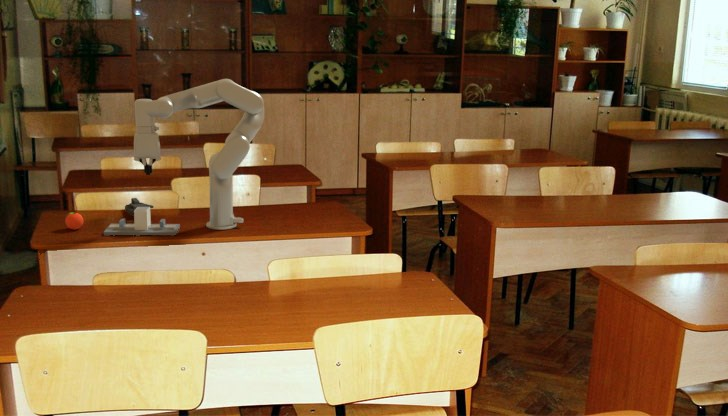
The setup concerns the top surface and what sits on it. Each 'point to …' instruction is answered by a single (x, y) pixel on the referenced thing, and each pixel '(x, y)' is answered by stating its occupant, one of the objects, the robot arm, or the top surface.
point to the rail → (161, 226)
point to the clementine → (74, 221)
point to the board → (141, 231)
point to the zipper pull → (135, 206)
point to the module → (142, 218)
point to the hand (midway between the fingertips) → (148, 174)
